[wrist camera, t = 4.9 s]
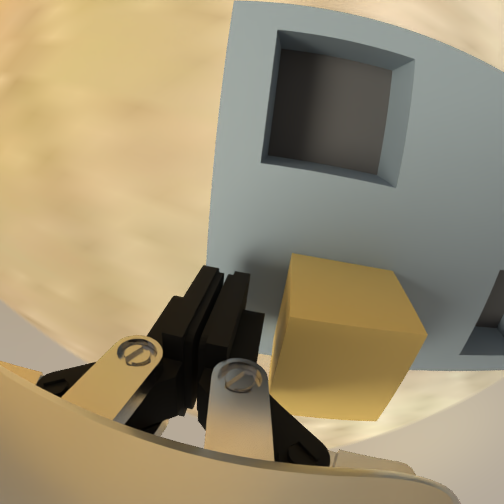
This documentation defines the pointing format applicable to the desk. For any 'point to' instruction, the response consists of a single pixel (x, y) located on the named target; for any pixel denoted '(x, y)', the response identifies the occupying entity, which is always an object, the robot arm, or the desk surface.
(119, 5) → the desk surface
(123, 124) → the desk surface
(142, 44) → the desk surface
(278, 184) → the board
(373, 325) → the block
